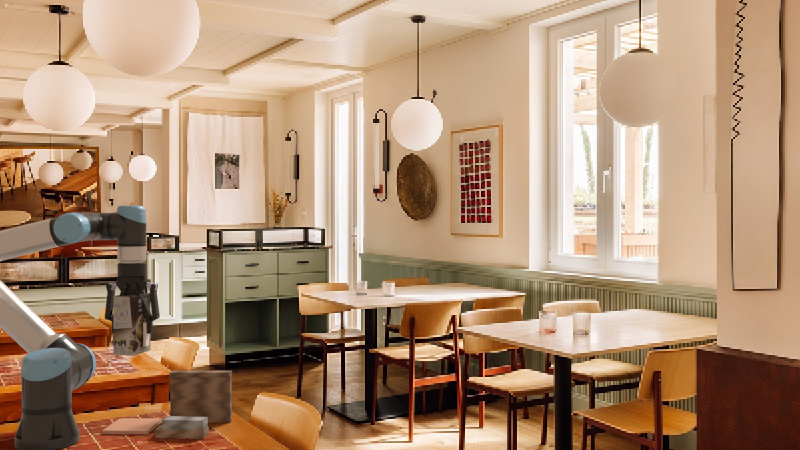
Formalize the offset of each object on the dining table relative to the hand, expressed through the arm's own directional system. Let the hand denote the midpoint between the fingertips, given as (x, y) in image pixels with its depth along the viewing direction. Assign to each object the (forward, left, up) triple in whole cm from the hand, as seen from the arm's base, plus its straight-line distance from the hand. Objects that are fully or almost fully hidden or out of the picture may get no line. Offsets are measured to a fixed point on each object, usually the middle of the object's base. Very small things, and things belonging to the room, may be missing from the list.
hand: (132, 345), depth 212 cm
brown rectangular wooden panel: (+17, +7, -23) cm, 29 cm away
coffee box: (0, 0, -2) cm, 2 cm away
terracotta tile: (0, 0, -23) cm, 23 cm away
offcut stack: (+16, -7, -23) cm, 29 cm away
